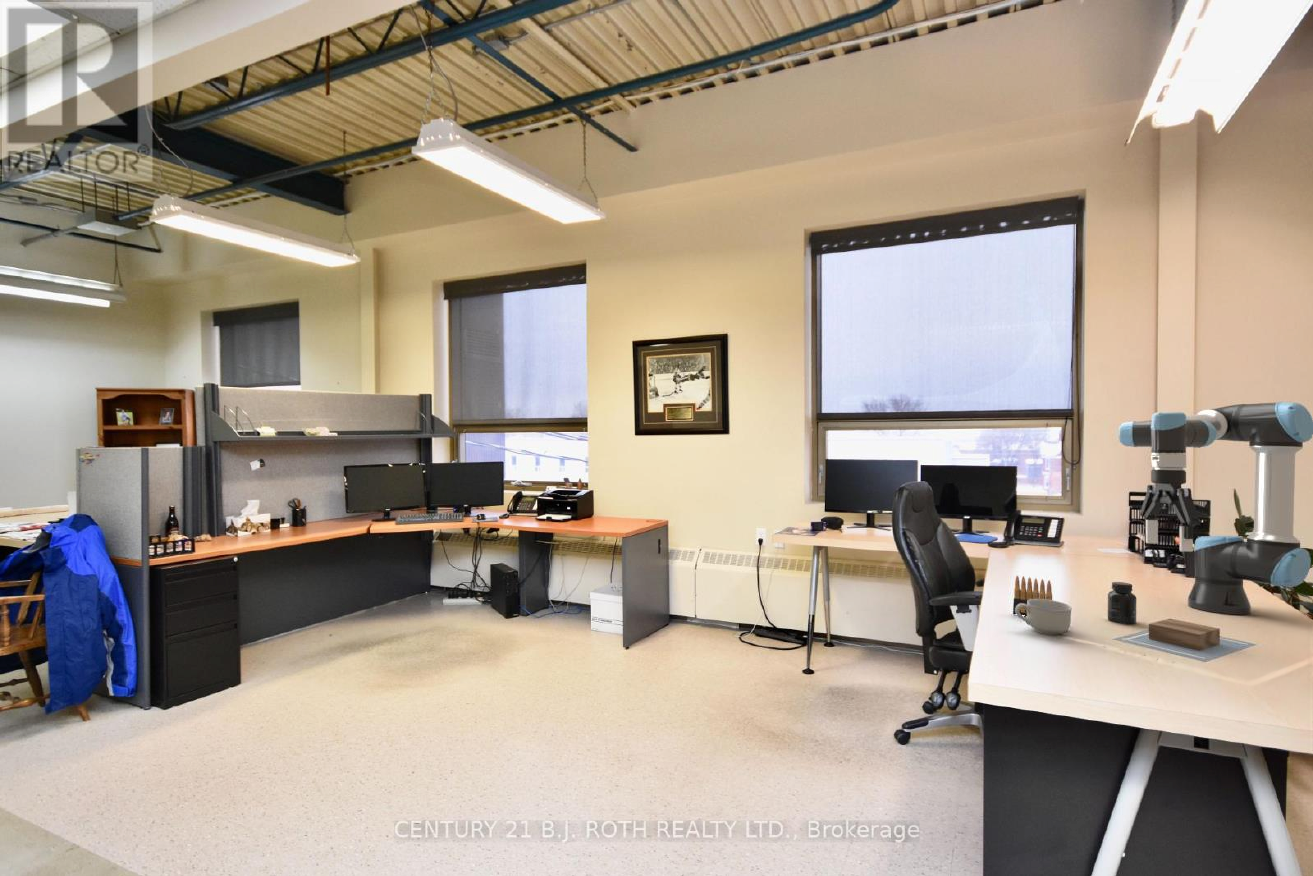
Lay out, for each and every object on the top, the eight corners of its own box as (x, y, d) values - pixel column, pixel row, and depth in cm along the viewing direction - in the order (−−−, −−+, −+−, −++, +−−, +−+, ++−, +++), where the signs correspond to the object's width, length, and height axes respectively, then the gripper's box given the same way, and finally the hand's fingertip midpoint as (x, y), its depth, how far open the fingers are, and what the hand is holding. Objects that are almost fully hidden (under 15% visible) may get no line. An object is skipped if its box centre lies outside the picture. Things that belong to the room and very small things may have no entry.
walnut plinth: (1169, 633, 178) (1169, 618, 178) (1219, 644, 168) (1219, 628, 168) (1148, 639, 173) (1148, 623, 173) (1199, 650, 163) (1199, 634, 163)
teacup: (1065, 628, 186) (1065, 600, 186) (1076, 639, 175) (1076, 609, 175) (1010, 624, 190) (1010, 596, 190) (1018, 634, 180) (1018, 605, 180)
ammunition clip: (1012, 614, 201) (1012, 575, 201) (1015, 613, 202) (1015, 574, 202) (1051, 622, 193) (1051, 581, 193) (1053, 620, 194) (1053, 580, 194)
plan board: (1166, 628, 186) (1166, 624, 186) (1256, 648, 168) (1256, 643, 168) (1112, 643, 172) (1112, 638, 172) (1205, 666, 155) (1205, 661, 155)
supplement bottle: (1141, 629, 186) (1141, 586, 186) (1114, 627, 187) (1114, 585, 187) (1129, 622, 192) (1129, 581, 192) (1103, 621, 194) (1103, 580, 194)
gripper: (1125, 467, 191) (1125, 539, 191) (1186, 470, 166) (1186, 554, 166) (1152, 467, 190) (1152, 540, 190) (1218, 471, 166) (1218, 555, 165)
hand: (1168, 547), depth 178 cm, fingers open, 13 cm apart
